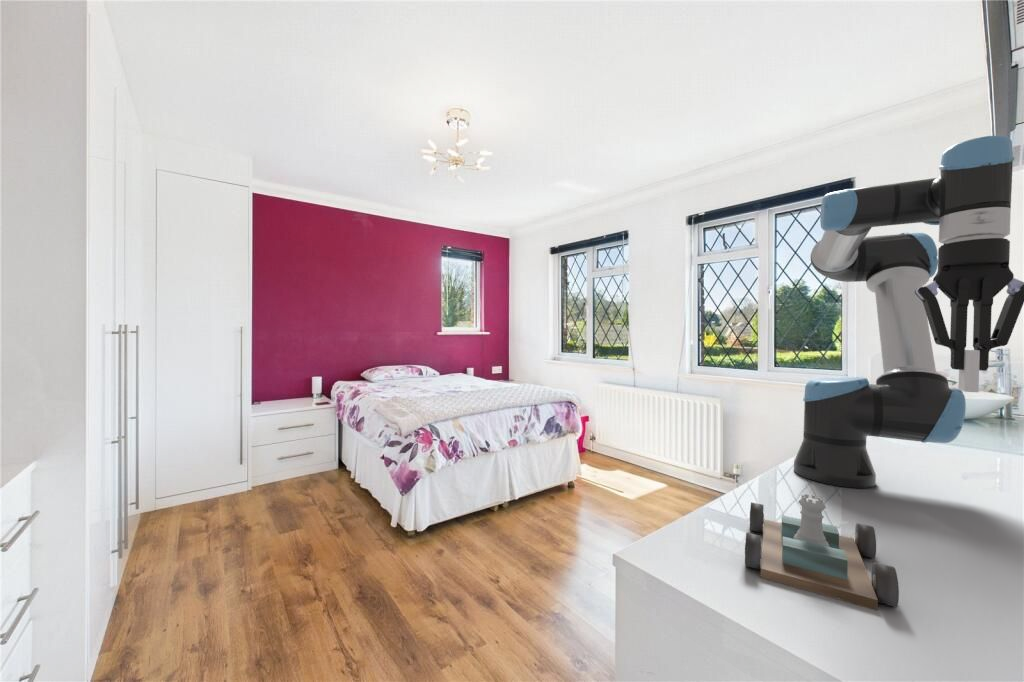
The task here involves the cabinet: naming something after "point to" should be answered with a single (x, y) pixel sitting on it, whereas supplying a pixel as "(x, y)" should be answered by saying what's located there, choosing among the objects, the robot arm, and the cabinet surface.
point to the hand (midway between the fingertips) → (968, 390)
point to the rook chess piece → (811, 521)
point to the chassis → (820, 561)
